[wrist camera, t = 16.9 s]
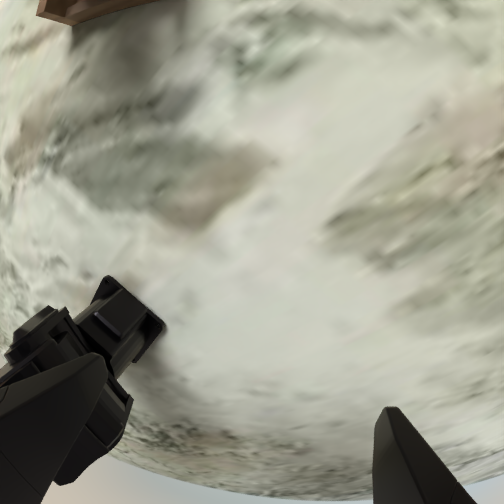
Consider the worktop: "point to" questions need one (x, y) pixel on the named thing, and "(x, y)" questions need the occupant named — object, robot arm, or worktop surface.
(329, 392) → the worktop surface
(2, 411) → the robot arm
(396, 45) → the worktop surface
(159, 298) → the worktop surface
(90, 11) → the small wooden crate
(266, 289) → the worktop surface
